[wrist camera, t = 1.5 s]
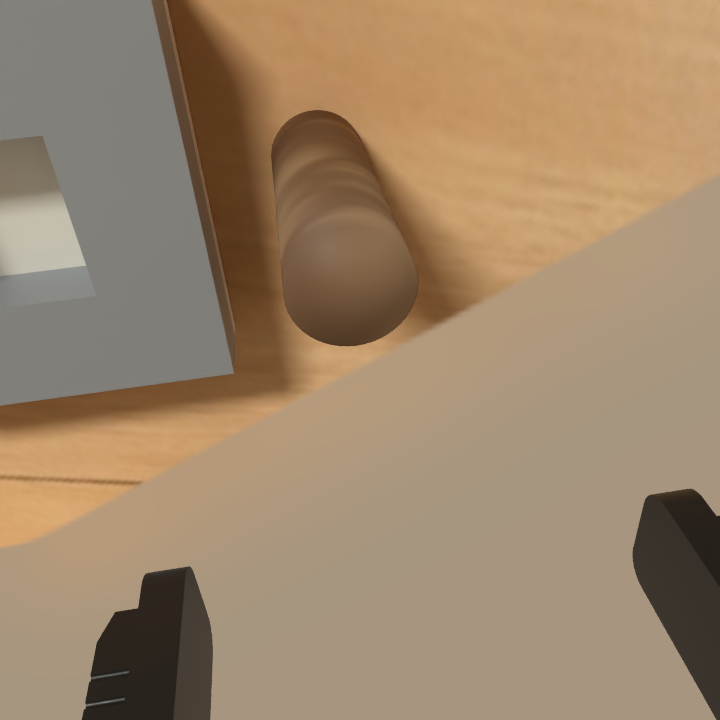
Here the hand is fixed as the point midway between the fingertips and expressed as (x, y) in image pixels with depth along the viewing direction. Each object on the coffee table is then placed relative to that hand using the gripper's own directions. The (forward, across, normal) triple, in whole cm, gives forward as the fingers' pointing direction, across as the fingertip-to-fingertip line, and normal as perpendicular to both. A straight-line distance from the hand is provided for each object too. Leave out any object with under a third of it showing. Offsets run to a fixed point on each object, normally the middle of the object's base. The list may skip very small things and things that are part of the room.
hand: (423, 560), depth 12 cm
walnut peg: (+22, 0, 0) cm, 22 cm away
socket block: (+22, +13, 0) cm, 26 cm away
